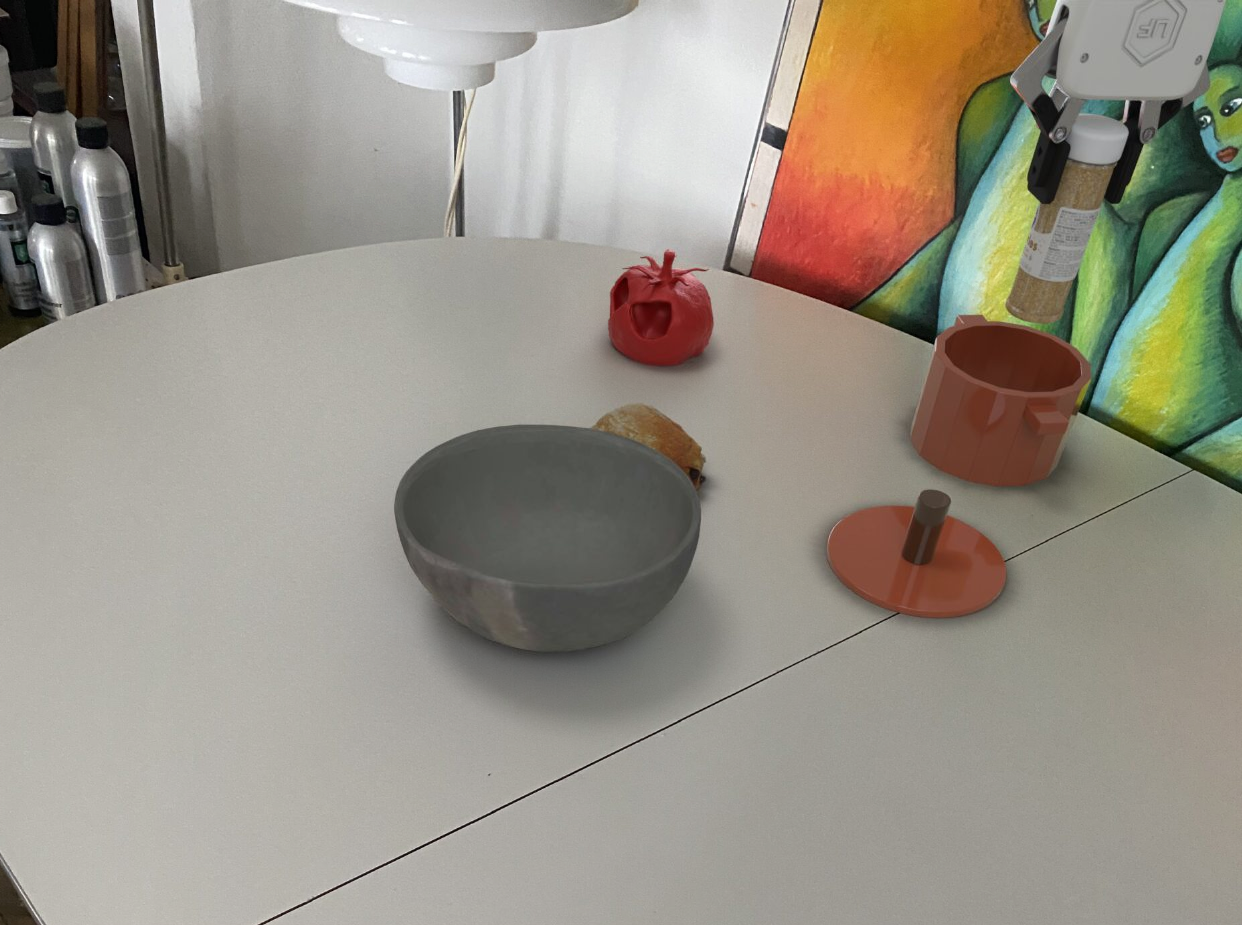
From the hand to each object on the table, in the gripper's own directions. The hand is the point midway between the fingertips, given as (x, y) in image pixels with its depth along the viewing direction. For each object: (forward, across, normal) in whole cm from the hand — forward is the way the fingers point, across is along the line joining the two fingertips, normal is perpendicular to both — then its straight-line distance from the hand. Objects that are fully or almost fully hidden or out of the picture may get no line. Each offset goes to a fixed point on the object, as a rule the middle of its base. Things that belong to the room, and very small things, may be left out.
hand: (1073, 194), depth 88 cm
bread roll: (+22, -31, -2) cm, 38 cm away
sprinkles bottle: (+9, 0, 0) cm, 9 cm away
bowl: (+22, -41, -18) cm, 50 cm away
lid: (+21, -12, -15) cm, 28 cm away
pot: (+21, 0, +1) cm, 21 cm away
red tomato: (+22, -25, +20) cm, 39 cm away
